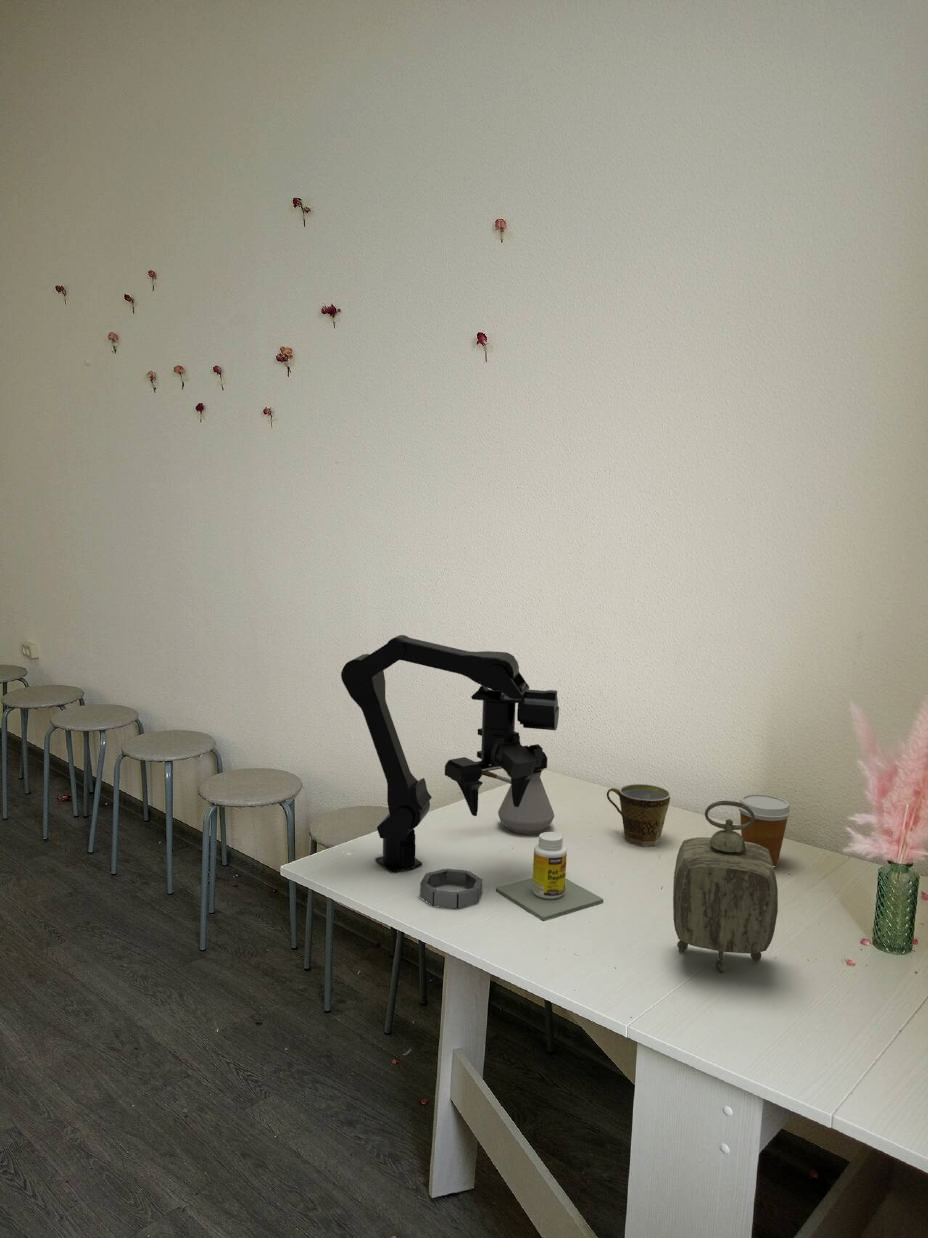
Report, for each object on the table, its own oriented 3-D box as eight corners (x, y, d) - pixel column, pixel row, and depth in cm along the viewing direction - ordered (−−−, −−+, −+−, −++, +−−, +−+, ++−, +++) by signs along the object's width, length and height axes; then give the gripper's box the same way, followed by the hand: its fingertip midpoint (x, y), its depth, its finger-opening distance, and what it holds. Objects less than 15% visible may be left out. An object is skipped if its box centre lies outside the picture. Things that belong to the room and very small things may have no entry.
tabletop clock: (767, 957, 141) (780, 797, 138) (773, 987, 133) (786, 818, 129) (669, 944, 145) (679, 787, 141) (668, 973, 136) (679, 807, 132)
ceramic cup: (674, 838, 189) (677, 790, 187) (656, 854, 180) (659, 803, 179) (614, 824, 195) (617, 778, 194) (594, 838, 187) (597, 790, 186)
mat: (495, 891, 162) (495, 887, 162) (553, 875, 169) (554, 872, 169) (543, 920, 151) (543, 917, 151) (603, 902, 158) (603, 899, 158)
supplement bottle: (546, 903, 156) (548, 844, 155) (525, 891, 161) (527, 833, 159) (571, 895, 159) (574, 838, 158) (551, 883, 164) (553, 827, 162)
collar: (410, 890, 161) (411, 877, 161) (459, 878, 166) (459, 865, 166) (442, 913, 153) (442, 899, 152) (492, 899, 158) (492, 885, 158)
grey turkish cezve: (537, 815, 200) (540, 746, 198) (563, 834, 189) (567, 761, 187) (444, 826, 192) (446, 755, 189) (466, 847, 181) (468, 771, 179)
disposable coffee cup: (731, 867, 175) (735, 805, 173) (736, 849, 184) (741, 790, 182) (785, 876, 171) (790, 813, 170) (788, 858, 180) (792, 797, 178)
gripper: (481, 743, 152) (478, 835, 155) (569, 729, 163) (565, 815, 165) (444, 727, 162) (441, 815, 164) (529, 715, 172) (526, 797, 174)
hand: (495, 811), depth 166 cm, fingers open, 9 cm apart
